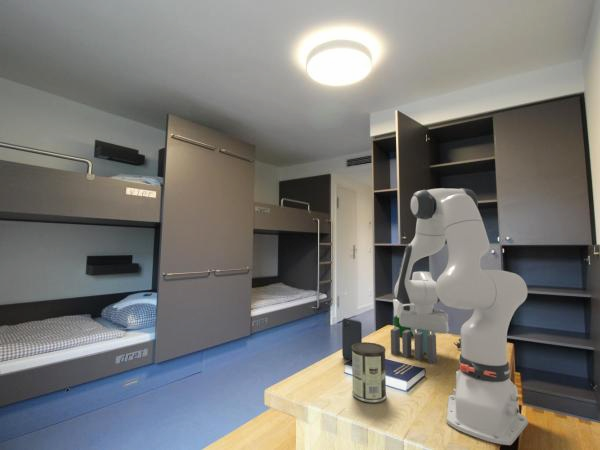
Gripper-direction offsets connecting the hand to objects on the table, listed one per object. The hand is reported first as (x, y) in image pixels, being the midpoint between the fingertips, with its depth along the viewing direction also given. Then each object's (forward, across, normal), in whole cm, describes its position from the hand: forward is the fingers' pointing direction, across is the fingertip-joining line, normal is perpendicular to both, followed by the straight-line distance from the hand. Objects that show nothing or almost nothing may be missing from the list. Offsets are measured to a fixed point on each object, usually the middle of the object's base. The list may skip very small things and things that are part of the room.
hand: (423, 340), depth 129 cm
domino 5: (+5, -6, +9) cm, 12 cm away
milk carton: (+5, +16, -19) cm, 25 cm away
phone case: (+5, +19, +29) cm, 35 cm away
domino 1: (+5, +9, +9) cm, 14 cm away
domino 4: (+5, -1, +9) cm, 10 cm away
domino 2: (+5, +4, +9) cm, 11 cm away
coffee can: (+5, +1, +50) cm, 50 cm away
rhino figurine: (+6, -16, -13) cm, 21 cm away
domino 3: (+5, 0, 0) cm, 5 cm away
